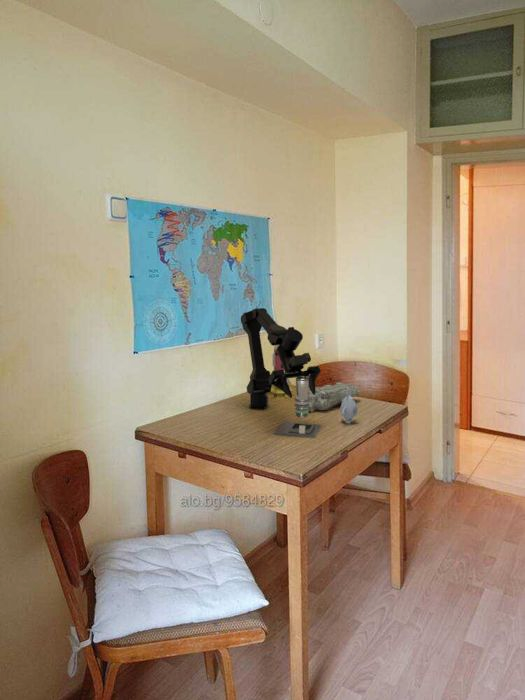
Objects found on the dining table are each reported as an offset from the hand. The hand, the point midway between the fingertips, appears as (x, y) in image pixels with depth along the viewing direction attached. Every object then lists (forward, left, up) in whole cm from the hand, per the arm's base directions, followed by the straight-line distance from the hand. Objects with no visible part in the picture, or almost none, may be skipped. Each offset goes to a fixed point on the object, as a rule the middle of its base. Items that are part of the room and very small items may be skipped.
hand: (303, 395), depth 183 cm
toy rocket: (-21, +47, -14) cm, 53 cm away
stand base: (-2, +2, -13) cm, 14 cm away
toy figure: (+14, +17, -14) cm, 25 cm away
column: (0, +1, -7) cm, 7 cm away
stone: (+4, +37, -14) cm, 40 cm away
